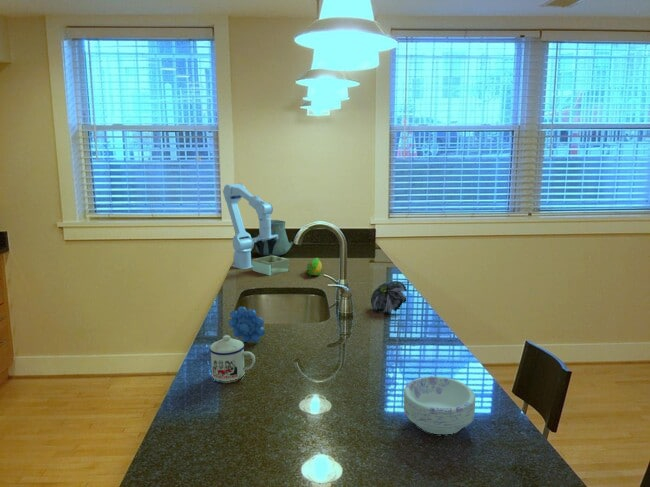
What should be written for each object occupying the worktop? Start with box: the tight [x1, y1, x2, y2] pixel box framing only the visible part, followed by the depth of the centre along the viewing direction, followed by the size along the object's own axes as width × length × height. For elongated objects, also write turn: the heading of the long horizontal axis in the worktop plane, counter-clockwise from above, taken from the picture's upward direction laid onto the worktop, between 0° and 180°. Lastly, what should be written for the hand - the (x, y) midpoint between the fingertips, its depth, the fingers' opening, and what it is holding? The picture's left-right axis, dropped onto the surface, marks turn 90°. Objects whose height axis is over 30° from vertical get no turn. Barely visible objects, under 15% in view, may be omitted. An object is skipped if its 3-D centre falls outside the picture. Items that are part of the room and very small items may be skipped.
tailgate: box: [251, 258, 272, 276], centre depth 245 cm, size 14×1×6 cm, turn 44°
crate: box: [255, 255, 290, 276], centre depth 249 cm, size 14×11×7 cm
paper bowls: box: [403, 375, 476, 435], centre depth 108 cm, size 15×15×8 cm
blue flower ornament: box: [228, 306, 266, 343], centre depth 155 cm, size 12×7×12 cm, turn 84°
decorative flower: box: [370, 280, 408, 316], centre depth 188 cm, size 14×12×15 cm
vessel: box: [255, 219, 293, 257], centre depth 289 cm, size 22×22×20 cm
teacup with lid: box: [209, 334, 256, 381], centre depth 132 cm, size 12×9×12 cm
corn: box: [306, 257, 323, 277], centre depth 245 cm, size 7×8×20 cm
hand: (266, 254), depth 246 cm, fingers open, 5 cm apart
